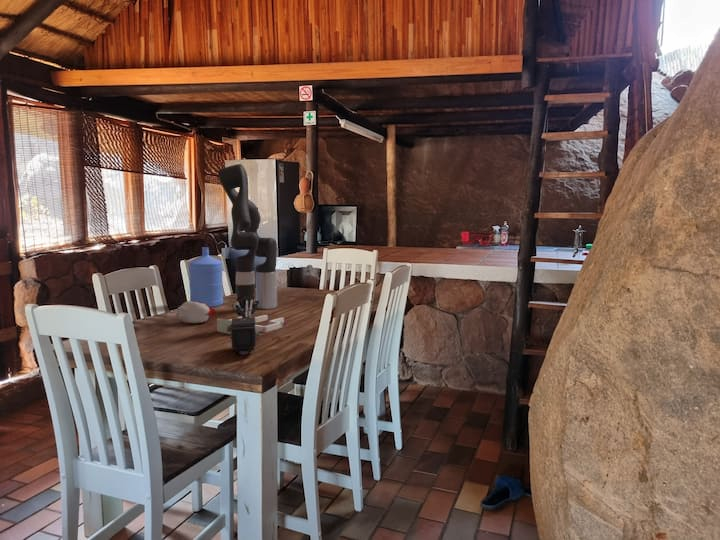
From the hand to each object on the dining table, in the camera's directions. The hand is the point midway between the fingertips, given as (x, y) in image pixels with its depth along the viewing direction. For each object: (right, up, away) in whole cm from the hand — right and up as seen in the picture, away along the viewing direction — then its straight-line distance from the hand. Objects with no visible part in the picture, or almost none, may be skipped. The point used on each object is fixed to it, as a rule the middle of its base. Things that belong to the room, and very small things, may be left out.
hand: (246, 325), depth 215 cm
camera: (+6, -5, -33) cm, 34 cm away
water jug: (-29, +5, +49) cm, 57 cm away
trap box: (+2, -1, +3) cm, 4 cm away
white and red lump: (-22, 0, +11) cm, 24 cm away
